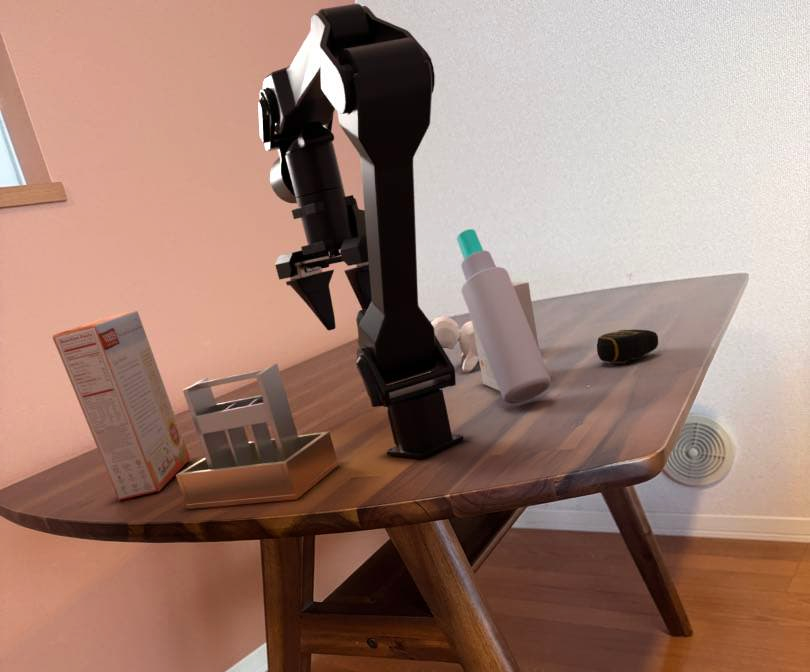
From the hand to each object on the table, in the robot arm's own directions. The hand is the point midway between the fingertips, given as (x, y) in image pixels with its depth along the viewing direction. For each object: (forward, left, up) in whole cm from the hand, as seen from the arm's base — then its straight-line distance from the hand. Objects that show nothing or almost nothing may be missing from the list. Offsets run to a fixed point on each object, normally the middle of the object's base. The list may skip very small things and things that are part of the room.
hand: (352, 327), depth 96 cm
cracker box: (+18, +24, -13) cm, 33 cm away
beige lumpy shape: (+10, -30, -13) cm, 34 cm away
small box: (-6, -20, -13) cm, 25 cm away
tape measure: (-17, -31, -13) cm, 38 cm away
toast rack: (-4, +20, -12) cm, 24 cm away
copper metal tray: (-4, +20, -13) cm, 24 cm away
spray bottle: (-18, -10, -12) cm, 23 cm away
